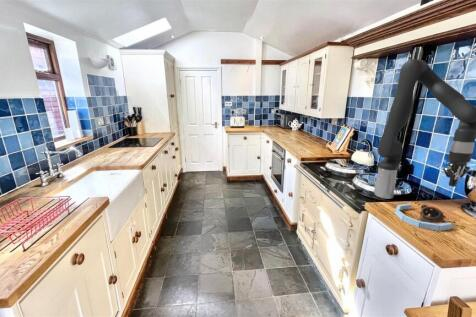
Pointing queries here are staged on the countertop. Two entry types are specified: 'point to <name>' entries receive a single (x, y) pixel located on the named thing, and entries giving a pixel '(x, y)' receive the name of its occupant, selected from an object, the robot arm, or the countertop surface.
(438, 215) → the pottery mug
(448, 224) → the collar
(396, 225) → the countertop surface
